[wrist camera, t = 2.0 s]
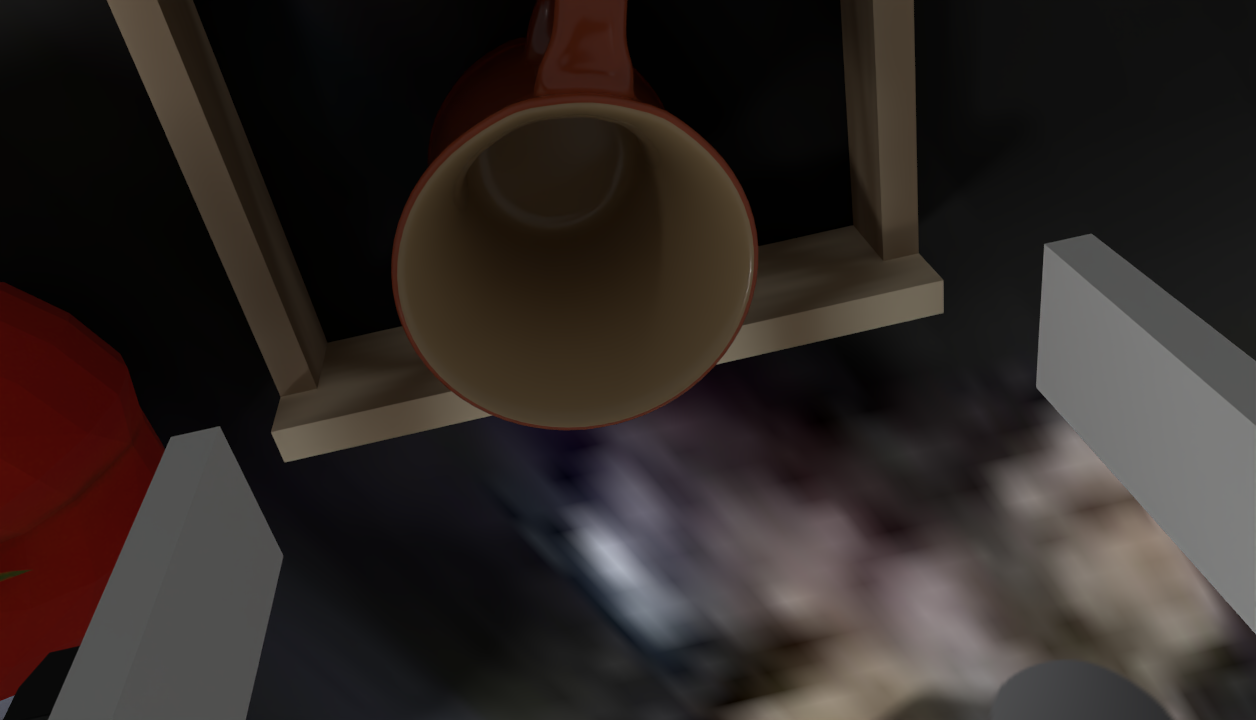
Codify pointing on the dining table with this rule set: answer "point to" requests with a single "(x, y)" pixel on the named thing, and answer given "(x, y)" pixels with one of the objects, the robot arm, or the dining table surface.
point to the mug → (570, 234)
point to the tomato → (61, 477)
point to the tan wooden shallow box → (385, 360)
